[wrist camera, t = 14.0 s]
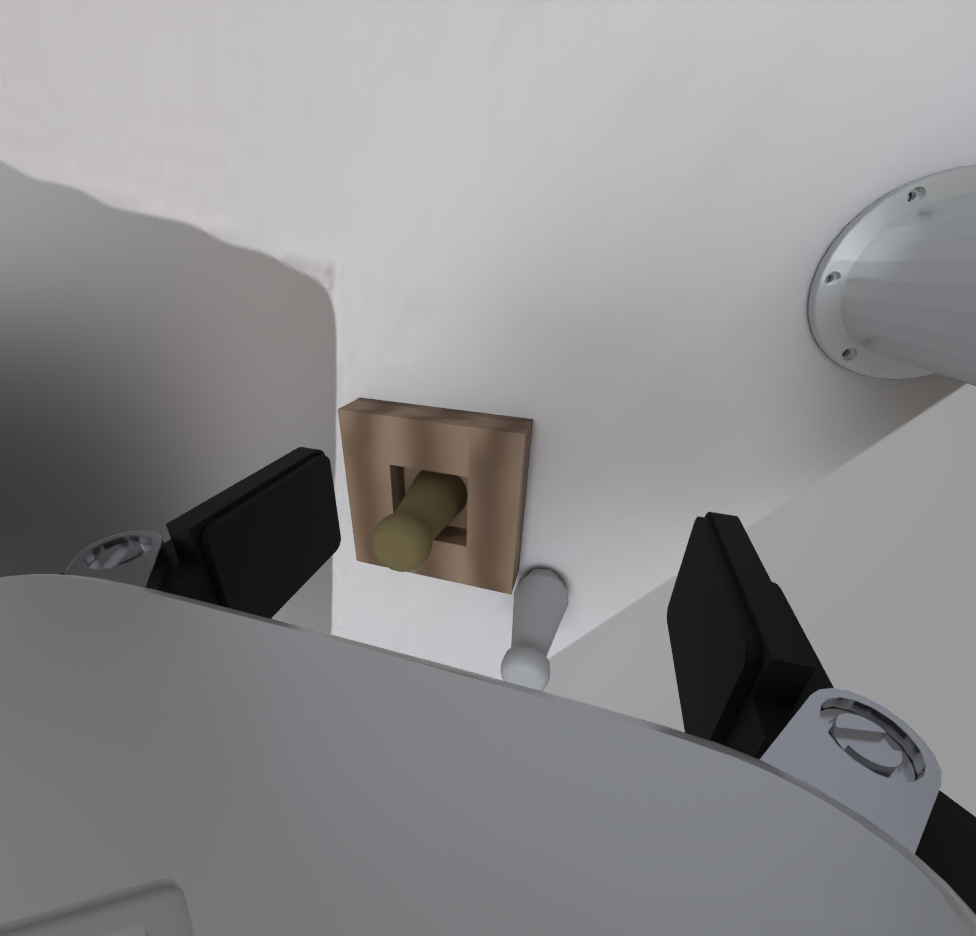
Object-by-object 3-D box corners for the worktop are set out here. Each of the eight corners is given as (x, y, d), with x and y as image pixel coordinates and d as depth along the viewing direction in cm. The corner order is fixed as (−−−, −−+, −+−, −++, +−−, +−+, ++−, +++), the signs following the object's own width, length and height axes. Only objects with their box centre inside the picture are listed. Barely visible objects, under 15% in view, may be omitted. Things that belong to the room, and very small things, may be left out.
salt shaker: (574, 568, 45) (562, 670, 34) (566, 607, 47) (552, 714, 36) (521, 556, 46) (492, 650, 35) (516, 595, 49) (487, 694, 37)
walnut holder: (532, 419, 39) (525, 434, 35) (518, 570, 47) (511, 594, 43) (360, 397, 43) (337, 409, 39) (374, 540, 51) (356, 560, 47)
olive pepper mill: (404, 494, 45) (349, 554, 36) (430, 454, 42) (377, 509, 33) (450, 525, 45) (407, 594, 36) (478, 488, 43) (440, 553, 33)
